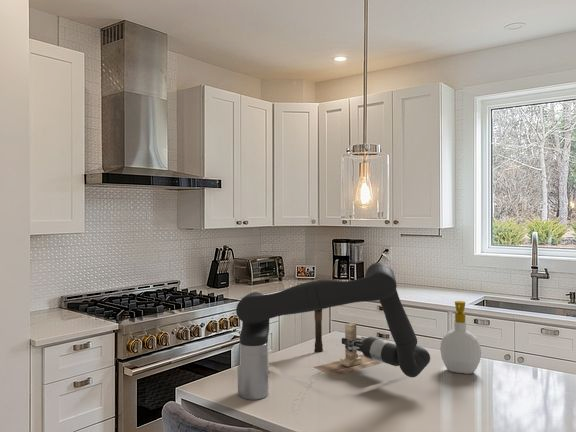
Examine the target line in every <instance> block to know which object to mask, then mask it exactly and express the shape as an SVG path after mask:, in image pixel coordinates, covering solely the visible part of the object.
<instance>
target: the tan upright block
mask: <svg viewBox="0 0 576 432" xmlns="http://www.w3.org/2000/svg"><path fill="white" fill-rule="evenodd" d="M344 334H345V336H344V338H346V339H349V340H354V339H355V340H357V339H356V338H357V324H355V323H352V322H350V323H345V324H344ZM355 343H356V342H355ZM351 344H352V342H351ZM344 348H345V347H344ZM344 351H345V353H344V354H345V357H344V358H343V357H342V358H340V360H341V364H342V365H344V366H347V367H349V366H353V365H357V364H361V363H362V358H360V357H358V356H359V353H358V351H357V350H354V349H353V351H352V352H349V351H348V350H347V349H346V348H345V350H344Z"/></svg>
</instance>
